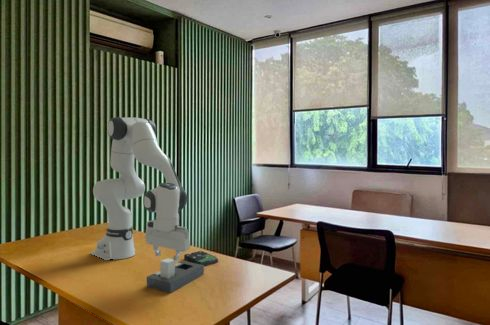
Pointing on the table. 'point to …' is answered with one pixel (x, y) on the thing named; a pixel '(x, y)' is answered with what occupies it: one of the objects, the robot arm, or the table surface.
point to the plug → (167, 268)
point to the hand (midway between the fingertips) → (167, 257)
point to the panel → (176, 277)
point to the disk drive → (201, 258)
